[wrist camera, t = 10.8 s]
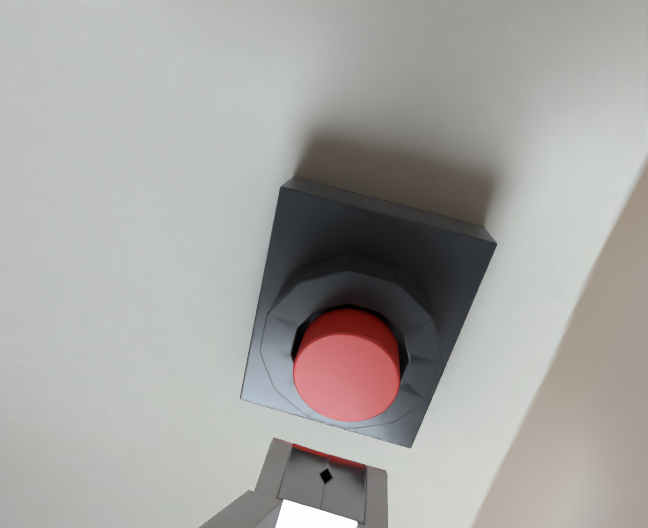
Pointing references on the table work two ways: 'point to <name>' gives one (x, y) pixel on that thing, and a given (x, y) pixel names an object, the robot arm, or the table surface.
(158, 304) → the table surface
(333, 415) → the red button
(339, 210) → the button box
